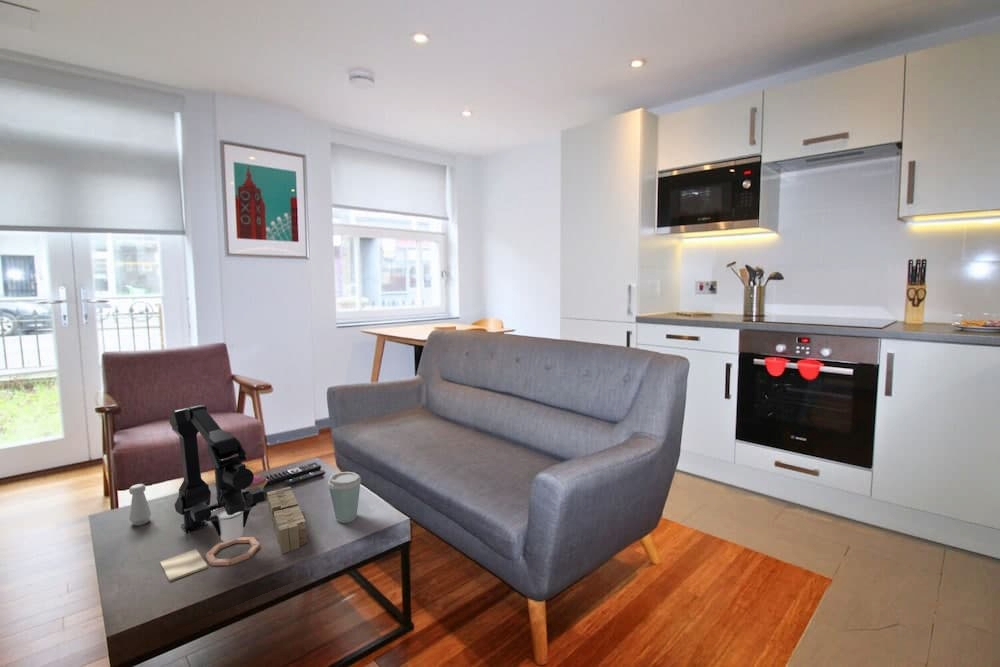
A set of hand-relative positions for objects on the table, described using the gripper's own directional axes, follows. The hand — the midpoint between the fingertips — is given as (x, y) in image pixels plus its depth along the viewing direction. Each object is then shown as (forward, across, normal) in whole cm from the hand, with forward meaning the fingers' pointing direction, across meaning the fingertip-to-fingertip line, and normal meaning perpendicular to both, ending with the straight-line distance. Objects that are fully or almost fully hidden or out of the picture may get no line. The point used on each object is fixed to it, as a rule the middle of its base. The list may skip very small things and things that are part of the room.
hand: (231, 531), depth 144 cm
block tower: (+7, +16, +2) cm, 18 cm away
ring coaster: (+7, 0, 0) cm, 7 cm away
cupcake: (+7, +18, +36) cm, 41 cm away
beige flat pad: (+7, -12, +3) cm, 14 cm away
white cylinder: (+2, 0, 0) cm, 2 cm away
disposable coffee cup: (+7, +33, -6) cm, 34 cm away
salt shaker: (+7, -16, +42) cm, 45 cm away
